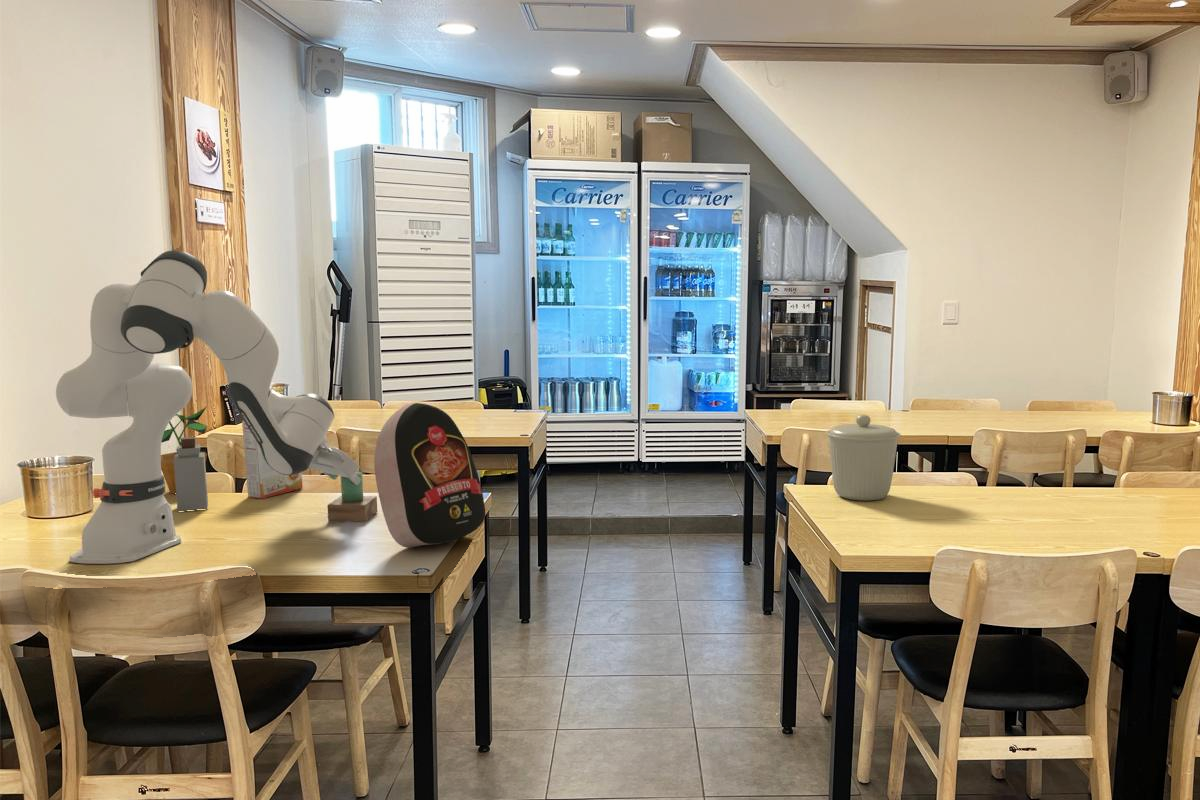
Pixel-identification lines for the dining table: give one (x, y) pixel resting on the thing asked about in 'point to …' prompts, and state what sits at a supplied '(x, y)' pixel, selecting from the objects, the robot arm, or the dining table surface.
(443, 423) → the packaged food
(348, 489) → the green bottle
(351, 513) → the walnut block
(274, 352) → the robot arm
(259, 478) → the cracker box
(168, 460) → the potted plant
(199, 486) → the perfume bottle
